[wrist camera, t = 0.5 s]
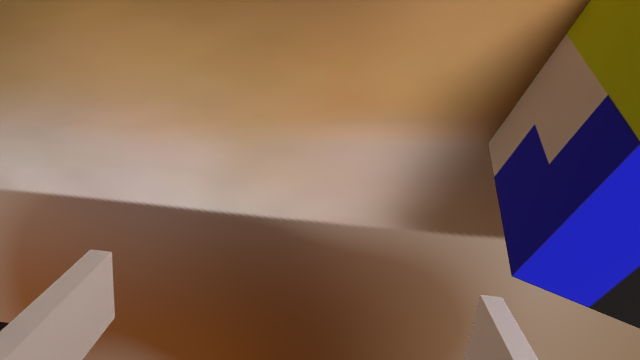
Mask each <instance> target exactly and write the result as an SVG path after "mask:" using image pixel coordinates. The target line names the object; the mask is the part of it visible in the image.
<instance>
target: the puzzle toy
mask: <svg viewBox="0 0 640 360" xmlns="http://www.w3.org/2000/svg"><path fill="white" fill-rule="evenodd" d="M488 145H489V150H490V156H491V162H492V167H493V173H494V178H495V184H496V190H497V195H498V201H499V207H500V212H501V218H502V224H503V229H504V235H505V241H506V246H507V252H508V257H509V263H510V269H511V274H512V276H513V277H515V278H518V279H520V280H522V281H525V282H527V283H530V284H532V285H535V286H537V287H540V288H542V289H544V290H547V291H549V292H552V293H554V294H557V295H559V296H562V297H564V298H567V299H569V300H571V301H574V302H576V303H579V304H581V305H584V306H586V307H589V308H591V309H594V310H596V311H598V312H601V313H603V314H606V315H608V316H611V317H613V318H616V319H618V320H620V321H623V322H625V323H628V324H630V325H633V326H635V327H637V328H640V0H590V2H589V3H588V4H587V6H586V7H585V9H584V10H583V11H582V13H581V14H580V16H579V17H578V18H577V20H576V21H575V23H574V24H573V25H572V27H571V28H570V30H569V31H568V32H567V34H566V35H565V37H564V38H563V39H562V41H561V42H560V44H559V45H558V46H557V48H556V49H555V51H554V52H553V53H552V55H551V56H550V58H549V59H548V60H547V62H546V63H545V65H544V66H543V67H542V69H541V70H540V72H539V73H538V75H537V76H536V77H535V79H534V80H533V82H532V83H531V84H530V86H529V87H528V89H527V90H526V91H525V93H524V94H523V96H522V97H521V98H520V100H519V101H518V103H517V104H516V105H515V107H514V108H513V110H512V111H511V112H510V114H509V115H508V117H507V118H506V119H505V121H504V122H503V124H502V125H501V126H500V128H499V129H498V131H497V132H496V133H495V135H494V136H493V138H492V139H491V140H490V142H489V143H488Z"/></svg>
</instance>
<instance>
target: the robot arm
mask: <svg viewBox="0 0 640 360" xmlns="http://www.w3.org/2000/svg"><path fill="white" fill-rule="evenodd" d="M114 318H115V309H114V290H113V266H112V252H108V251H100V250H91V249H90V250H89V251H88V252H87V253H86V254H85V255H84V256H83V257H82V258H81V259H79V260H78V261H77V262H76V263H75V264H74V265H73V266H72V267H71V268H70V269H68V270H67V271H66V272H65V273H64V274H63V275H62V276H61V277H60V278H59V279H57V280H56V281H55V282H54V283H53V284H52V285H51V286H50V287H49V288H48V289H46V290H45V291H44V292H43V293H42V294H41V295H40V296H39V297H38V298H37V299H35V300H34V301H33V302H32V303H31V304H30V305H29V306H28V307H27V308H26V309H24V310H23V311H22V312H21V313H20V314H19V315H18V316H17V317H16V318H15V319H13V320H12V321H11V322H10V323H4V322H0V360H83V358H84V357H85V356H86V354H87V353H88V352H89V351H90V349H91V348H92V347H93V345H94V344H95V343H96V341H97V340H98V339H99V338H100V336H101V335H102V333H103V332H104V331H105V330H106V328H107V327H108V326H109V324H110V323H111V322H112V321H113V319H114ZM465 360H538V358H537V357H536V355H535V353H534V352H533V350H532V348H531V346H530V345H529V343H528V341H527V339H526V338H525V336H524V334H523V332H522V331H521V329H520V327H519V326H518V324H517V322H516V320H515V319H514V317H513V315H512V313H511V312H510V310H509V308H508V307H507V305H506V303H505V301H504V300H503V298H502V297H496V296H487V295H480V299H479V302H478V306H477V311H476V314H475V318H474V322H473V326H472V330H471V334H470V338H469V342H468V346H467V350H466V354H465Z"/></svg>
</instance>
